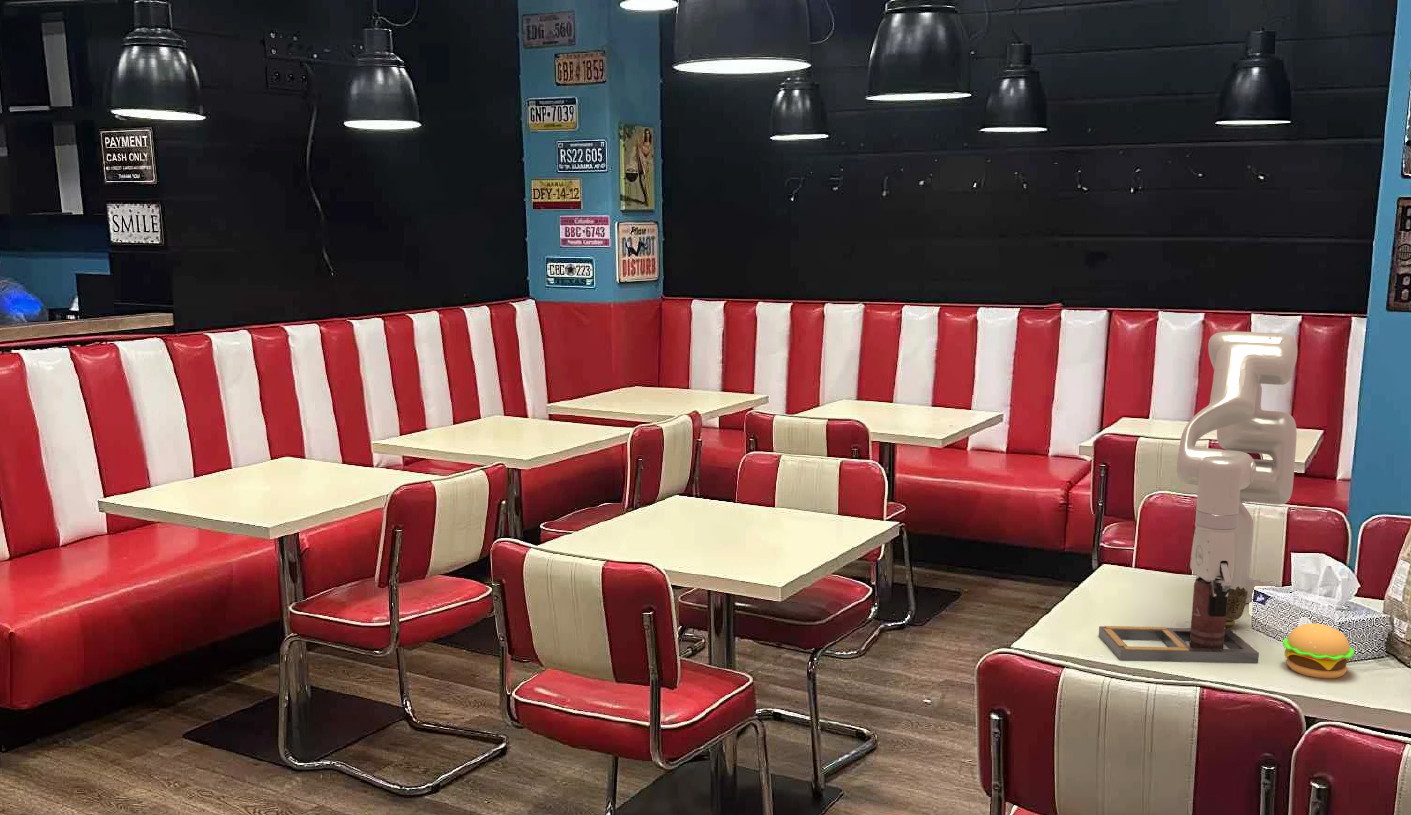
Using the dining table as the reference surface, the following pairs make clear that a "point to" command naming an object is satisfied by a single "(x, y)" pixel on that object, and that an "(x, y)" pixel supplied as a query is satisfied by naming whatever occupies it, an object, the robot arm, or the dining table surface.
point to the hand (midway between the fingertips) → (1209, 609)
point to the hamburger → (1317, 651)
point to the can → (1205, 619)
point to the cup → (1235, 605)
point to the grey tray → (1173, 645)
